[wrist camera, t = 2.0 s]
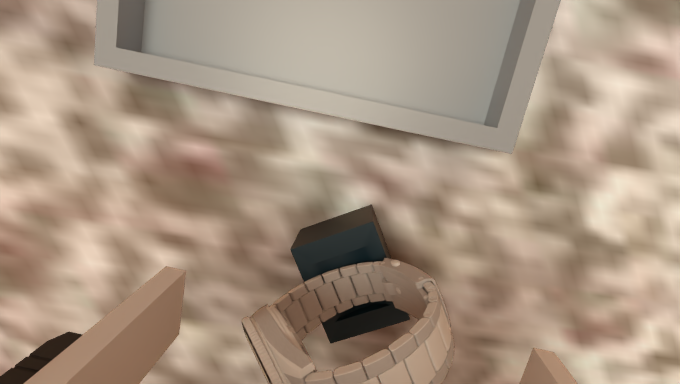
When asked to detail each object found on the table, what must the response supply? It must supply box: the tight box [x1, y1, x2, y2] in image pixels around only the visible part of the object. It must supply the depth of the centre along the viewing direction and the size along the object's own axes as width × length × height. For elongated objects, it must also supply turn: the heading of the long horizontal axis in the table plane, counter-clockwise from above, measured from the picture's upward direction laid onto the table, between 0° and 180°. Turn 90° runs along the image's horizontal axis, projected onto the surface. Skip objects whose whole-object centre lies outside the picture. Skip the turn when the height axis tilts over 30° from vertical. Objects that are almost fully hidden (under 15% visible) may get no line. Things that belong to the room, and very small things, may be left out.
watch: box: [242, 205, 454, 384], centre depth 16 cm, size 6×8×11 cm
